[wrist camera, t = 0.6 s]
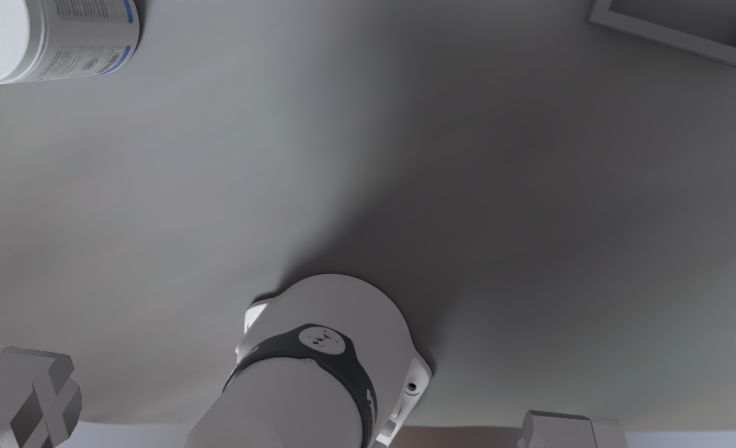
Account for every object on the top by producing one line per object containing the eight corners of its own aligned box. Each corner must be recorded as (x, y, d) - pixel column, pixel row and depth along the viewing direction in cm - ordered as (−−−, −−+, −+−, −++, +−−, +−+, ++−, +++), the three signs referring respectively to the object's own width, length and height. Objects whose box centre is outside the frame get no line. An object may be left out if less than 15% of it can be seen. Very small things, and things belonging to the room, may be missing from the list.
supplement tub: (50, -40, 58) (-93, -70, 44) (146, -26, 56) (29, -52, 43) (50, 68, 61) (-85, 73, 47) (141, 85, 59) (30, 95, 45)
